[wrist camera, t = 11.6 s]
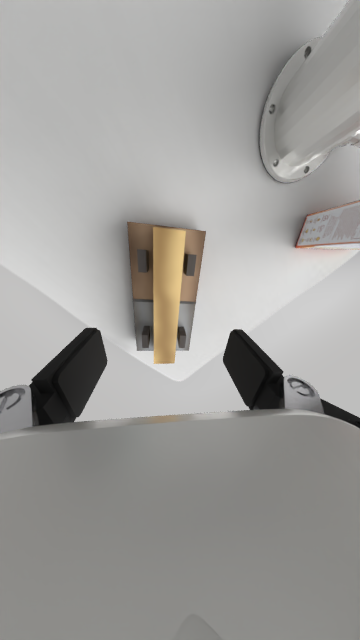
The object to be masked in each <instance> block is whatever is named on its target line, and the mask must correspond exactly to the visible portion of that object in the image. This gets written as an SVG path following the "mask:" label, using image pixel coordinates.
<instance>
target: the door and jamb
mask: <svg viewBox="0 0 360 640" xmlns="http://www.w3.org/2000/svg"><path fill="white" fill-rule="evenodd" d="M127 224H128V238H129V251H130V264H131V278H132V291H133V304H134V317H135V331H136V344H137V351H154V294H153V227H159V228H167V229H176V230H184V231H186V236H185V247H184V259H183V270H182V282H181V293H180V305H179V316H178V328H177V339H176V351H181V350H189V345H190V338H191V331H192V324H193V317H194V310H195V304H196V296H197V290H198V283H199V276H200V269H201V262H202V255H203V248H204V241H205V234H206V231H199V230H191V229H183V228H175V227H167V226H158V225H150V224H142V223H134V222H127Z"/></svg>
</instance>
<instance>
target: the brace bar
mask: <svg viewBox="0 0 360 640" xmlns="http://www.w3.org/2000/svg"><path fill="white" fill-rule="evenodd" d="M185 236H186V231H184V230H176V229H167V228H159V227H153V294H154V364H164V363H174V362H175V351H176V339H177V328H178V316H179V305H180V293H181V282H182V270H183V259H184V247H185Z"/></svg>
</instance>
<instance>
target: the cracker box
mask: <svg viewBox="0 0 360 640" xmlns="http://www.w3.org/2000/svg"><path fill="white" fill-rule="evenodd" d="M295 248H311V249H360V200H358V201H354V202H351V203H348V204H344V205H341V206H337V207H334V208H330V209H327V210H324V211H320V212H316V213H313V214H309V215H307V216H306V219H305V222H304V225H303V228H302V230H301V233H300V236H299V239H298V242H297V244H296V247H295Z"/></svg>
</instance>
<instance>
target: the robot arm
mask: <svg viewBox="0 0 360 640" xmlns="http://www.w3.org/2000/svg"><path fill="white" fill-rule="evenodd" d="M348 143H349V144H351V145H353V146H357V147H360V0H349V1H348V2H347V4H346V5H345V6H344V8H343V9H342V11H341V12H340V13H339V15H338V16H337V17H336V19H335V20H334V22H333V23H332V24H331V26H330V27H329V28H328V30H327V31H326V33H325V34H324V35H323V37H319V38H315V39H313V40H311V41H309V42H308V43H306V44H304V45H303V46H302V47H301V48H300V49H299V50H297V51H296V52H295V53H294V55H293V56H292V57H291V58H290V60H289V61H288V62H287V63H286V65H285V66H284V68H283V69H282V71H281V73H280V74H279V76H278V77H277V79H276V81H275V83H274V85H273V87H272V89H271V91H270V93H269V96H268V98H267V101H266V104H265V107H264V111H263V115H262V120H261V127H260V150H261V156H262V160H263V163H264V165H265V168H266V170H267V171H268V173H269V174H270V175H271V176H272V177H273V178H274V179H276V180H277V181H280V182H283V183H291V182H295V181H298V180H300V179H302V178H304V177H306V176H307V175H309V174H311V173H312V172H313V171H314V170H316V169H317V168H318V167H319V166H320V165H321V164H322V163H323V162H324V161H325V159H326V158H327V157H328V155H329V154H330V153H331V151H332V150H333V149H334V148H336V147H338V146H345V145H347V144H348ZM223 362H224V365H225V366H226V368H227V370H228V372H229V374H230V376H231V378H232V380H233V382H234V384H235V386H236V388H237V389H238V391H239V393H240V395H241V397H242V399H243V401H244V403H245V404H246V405H247V406H248V407H249V409H250V410H244V411H228V412H212V413H197V414H183V415H168V416H167V415H166V416H152V417H138V418H124V419H111V420H97V421H84V422H74V421H75V419H76V417H79V416H80V414H81V413H82V411H83V409H84V407H85V405H86V403H87V401H88V399H89V397H90V396H91V394H92V392H93V390H94V388H95V386H96V384H97V382H98V380H99V378H100V376H101V375H102V373H103V371H104V369H105V367H106V365H107V357H106V353H105V349H104V345H103V341H102V336H101V332H100V330H97V328H85V329H84V330H83V331H82V332H81V333H80V334H79V335H78V336H77V337H76V338H75V339H74V340H73V341H71V343H70V344H68V345H67V346H66V347H65V348H64V349H63V350H62V351H61V352H60V353H59V354H58V355H57V356H56V357H55V358H54V359H53V360H51V361H50V362H49V363H48V364H47V365H46V366H45V367H44V368H43V369H42V370H41V371H40V372H39V373H38V374H37V375H36V376H35V377H34V378H33V379H32V381H33V382H32V383H31V384H30V385H29V386H27V385H17V386H12V387H10V388H6V389H4V390H2V391H0V640H360V418H359V417H357V416H355V415H353V414H351V413H349V412H347V411H344V410H343V409H340V408H339V407H336V406H334V405H332V404H330V403H328V402H326V401H324V400H322V399H320V397H319V394H318V392H317V391H316V389H315V388H314V387H313V386H312V385H310V384H309V383H308V382H306V381H305V380H303V379H301V378H299V377H296V376H291V375H289V376H285V377H283V376H282V373H283V371H282V370H281V369H280V368H279V367H278V366H277V365H276V364H275V363H274V362H273V361H272V360H271V358H270V357H269V356H268V355H267V354H266V353H265V352H264V351H263V350H262V349H261V348H260V347H259V346H258V345H257V344H256V343H255V342H254V341H253V340H252V339H251V338H250V337H249V336H248V335H247V334H246V333H245V332H244V331H243V330H238V329H234V330H233V331H231V333H230V336H229V339H228V343H227V346H226V349H225V353H224V356H223Z"/></svg>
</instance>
